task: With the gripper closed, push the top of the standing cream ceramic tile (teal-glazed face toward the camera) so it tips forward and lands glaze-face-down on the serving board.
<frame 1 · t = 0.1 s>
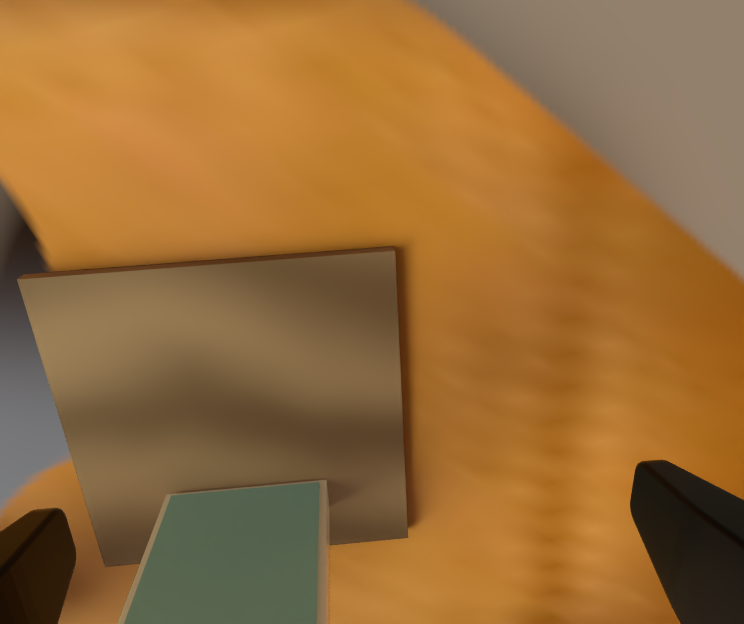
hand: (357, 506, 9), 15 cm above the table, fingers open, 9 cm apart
board: (238, 416, 25), on the table
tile: (249, 500, 26), point 1 cm above the table, touching board
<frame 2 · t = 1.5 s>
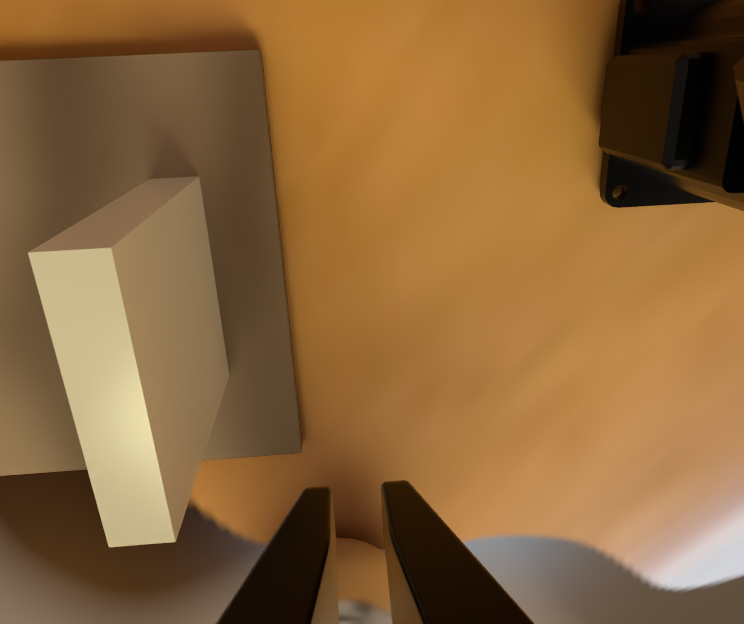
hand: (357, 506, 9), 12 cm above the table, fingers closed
board: (76, 285, 20), on the table
plastic bottle: (339, 573, 26), on the table
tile: (192, 284, 20), point 1 cm above the table, touching board
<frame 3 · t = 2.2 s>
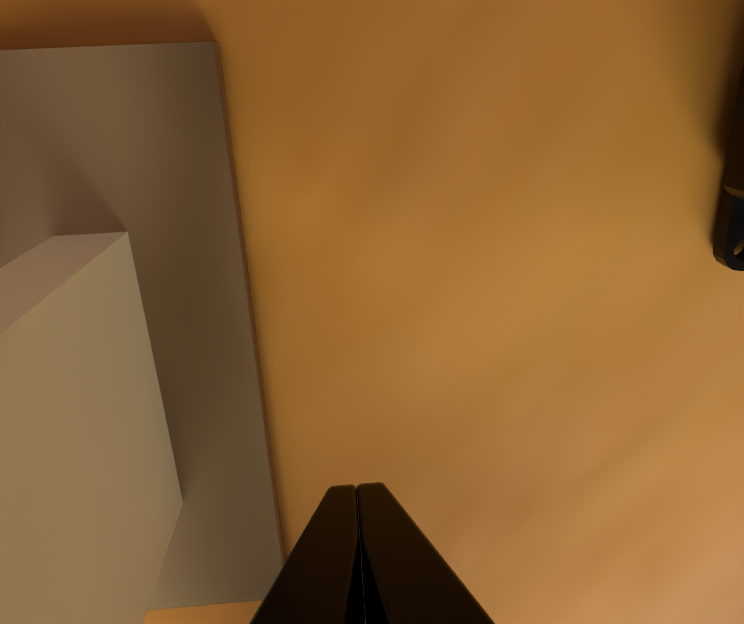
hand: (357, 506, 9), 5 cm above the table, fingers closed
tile: (124, 383, 13), point 1 cm above the table, touching board
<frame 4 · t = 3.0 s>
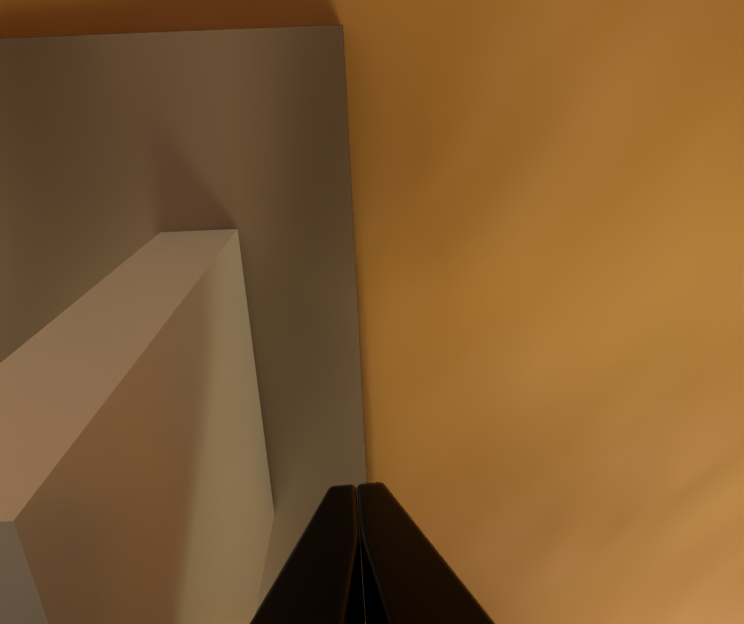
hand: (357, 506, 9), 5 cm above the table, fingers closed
board: (48, 385, 13), on the table
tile: (223, 387, 13), point 1 cm above the table, touching board, gripper
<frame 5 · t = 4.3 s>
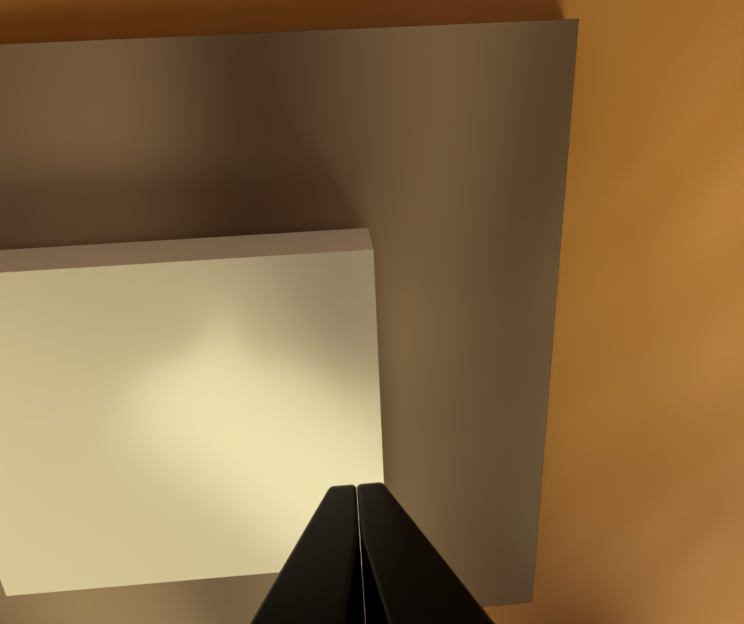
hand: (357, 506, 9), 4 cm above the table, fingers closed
board: (236, 379, 13), on the table
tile: (378, 404, 12), point 1 cm above the table, tilted 90°, touching board
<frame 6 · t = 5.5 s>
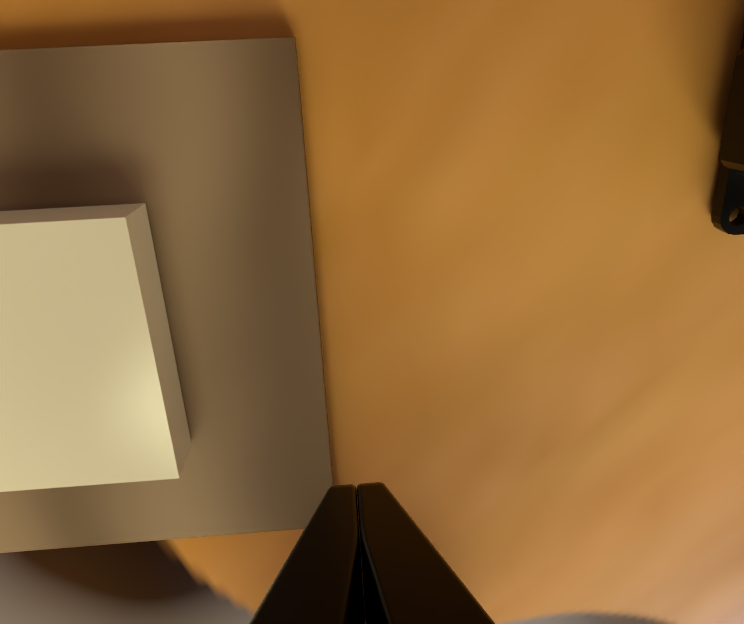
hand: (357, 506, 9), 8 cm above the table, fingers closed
board: (63, 330, 16), on the table
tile: (163, 346, 15), point 1 cm above the table, tilted 90°, touching board
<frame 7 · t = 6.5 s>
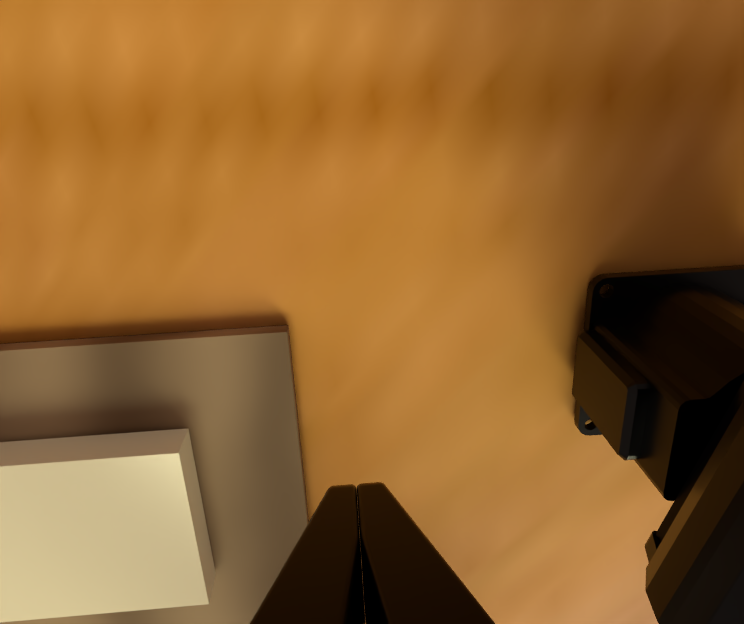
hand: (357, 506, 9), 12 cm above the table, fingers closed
board: (127, 498, 23), on the table
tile: (198, 518, 22), point 1 cm above the table, tilted 90°, touching board
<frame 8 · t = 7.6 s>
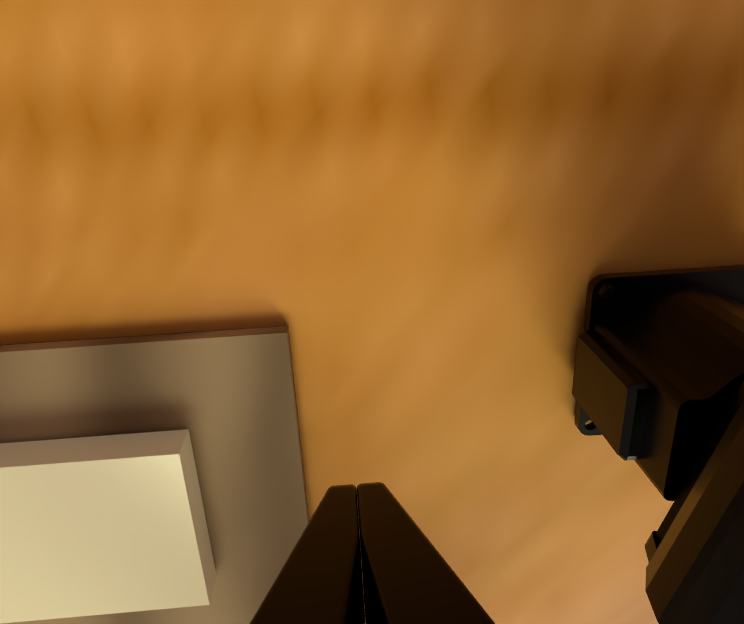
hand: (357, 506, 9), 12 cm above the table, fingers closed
board: (128, 499, 23), on the table
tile: (199, 519, 22), point 1 cm above the table, tilted 90°, touching board
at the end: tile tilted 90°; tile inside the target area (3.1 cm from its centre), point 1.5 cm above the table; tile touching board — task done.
